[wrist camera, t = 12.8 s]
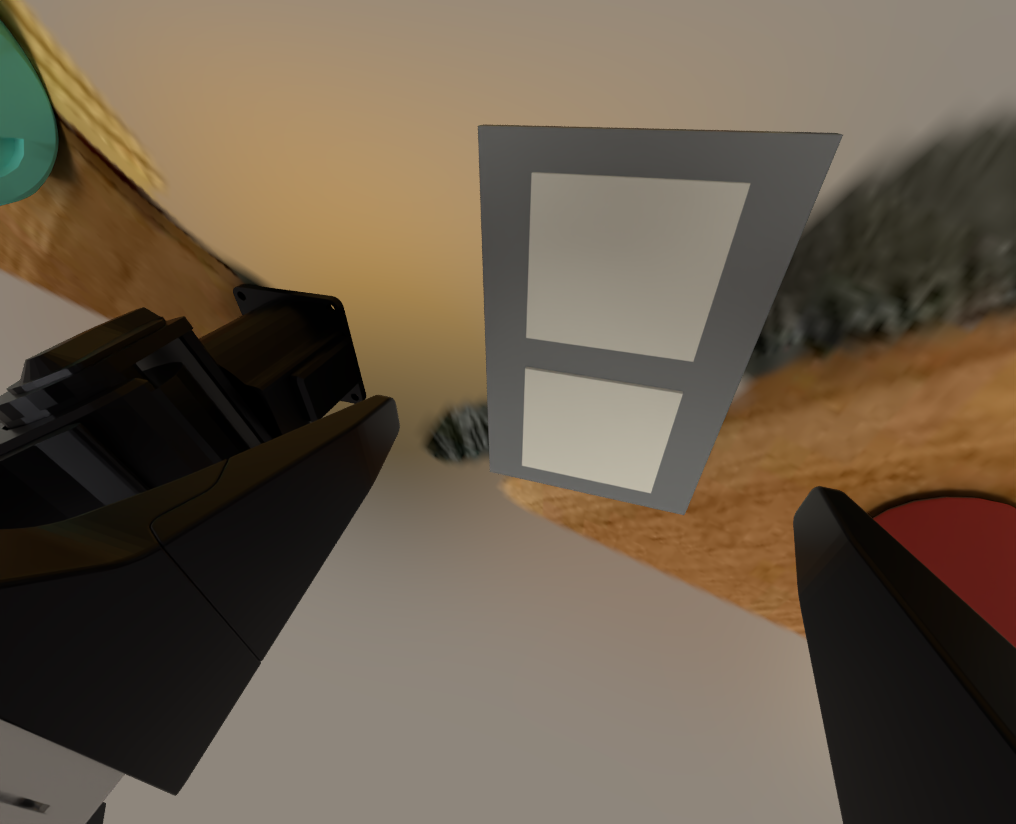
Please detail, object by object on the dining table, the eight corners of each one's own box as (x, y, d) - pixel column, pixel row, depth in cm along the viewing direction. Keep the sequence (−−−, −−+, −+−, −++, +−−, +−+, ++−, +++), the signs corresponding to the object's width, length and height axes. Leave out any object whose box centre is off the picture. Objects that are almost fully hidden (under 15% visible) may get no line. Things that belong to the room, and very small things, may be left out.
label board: (493, 464, 25) (488, 474, 25) (483, 124, 15) (475, 126, 14) (683, 506, 23) (684, 518, 22) (836, 132, 12) (845, 135, 12)
